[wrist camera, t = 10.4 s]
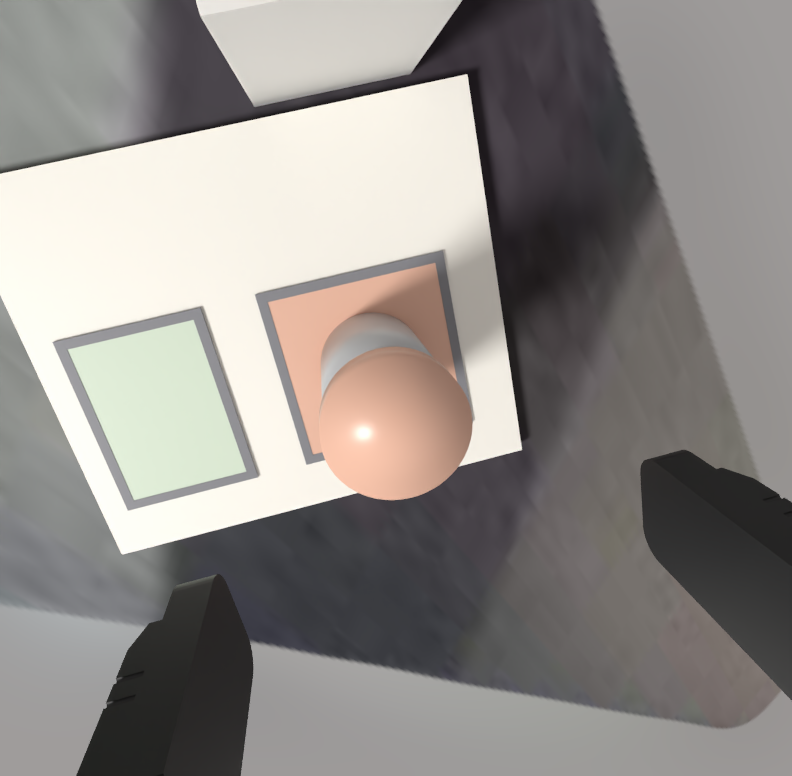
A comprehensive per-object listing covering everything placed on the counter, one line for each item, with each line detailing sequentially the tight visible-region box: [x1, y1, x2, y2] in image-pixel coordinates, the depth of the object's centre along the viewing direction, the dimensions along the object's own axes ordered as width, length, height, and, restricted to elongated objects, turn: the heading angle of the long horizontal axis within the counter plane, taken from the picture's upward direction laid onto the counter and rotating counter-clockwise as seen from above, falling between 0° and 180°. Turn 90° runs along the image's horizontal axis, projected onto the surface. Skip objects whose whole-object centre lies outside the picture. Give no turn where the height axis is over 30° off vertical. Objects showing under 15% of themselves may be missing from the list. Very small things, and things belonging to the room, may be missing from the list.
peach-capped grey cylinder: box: [319, 312, 473, 500], centre depth 19 cm, size 5×5×8 cm
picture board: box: [0, 74, 522, 555], centre depth 22 cm, size 16×19×1 cm
